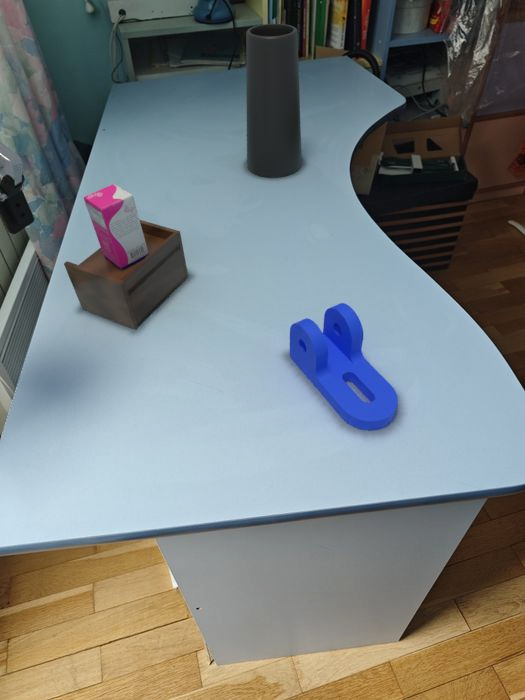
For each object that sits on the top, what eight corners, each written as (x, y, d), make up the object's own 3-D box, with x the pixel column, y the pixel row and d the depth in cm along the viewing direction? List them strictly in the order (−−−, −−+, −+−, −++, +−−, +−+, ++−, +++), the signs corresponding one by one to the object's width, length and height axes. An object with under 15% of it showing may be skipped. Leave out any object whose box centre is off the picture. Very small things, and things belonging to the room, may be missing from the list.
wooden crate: (82, 309, 86) (63, 263, 79) (138, 260, 96) (126, 215, 88) (135, 330, 82) (120, 283, 75) (188, 276, 92) (180, 231, 84)
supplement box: (131, 242, 86) (114, 182, 78) (150, 256, 83) (134, 194, 74) (102, 256, 83) (82, 195, 75) (121, 271, 80) (101, 209, 72)
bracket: (289, 356, 77) (290, 314, 70) (332, 336, 79) (336, 294, 73) (360, 439, 66) (368, 399, 59) (407, 413, 68) (420, 371, 62)
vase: (262, 148, 128) (258, 18, 107) (310, 158, 123) (315, 24, 102) (237, 171, 120) (226, 35, 99) (286, 182, 115) (286, 42, 94)
